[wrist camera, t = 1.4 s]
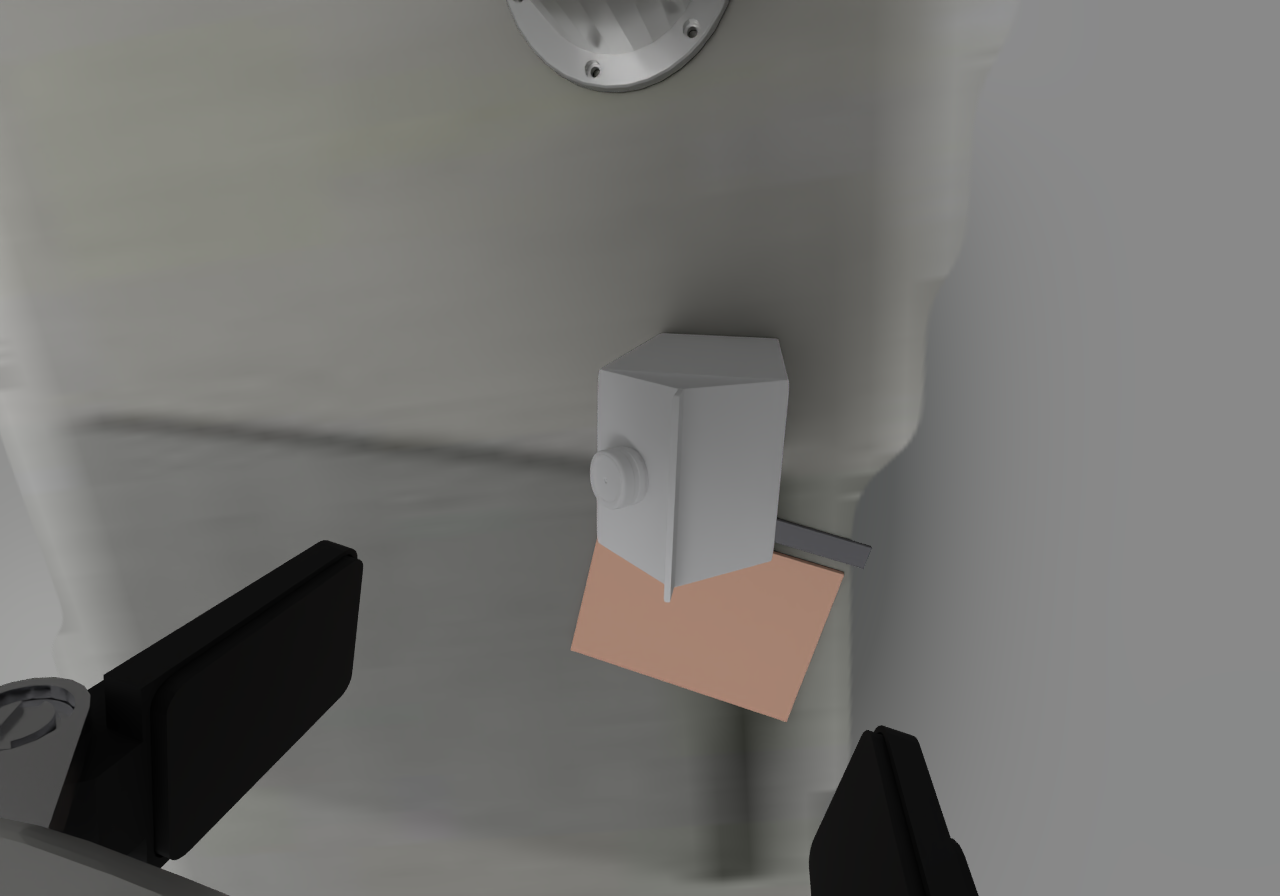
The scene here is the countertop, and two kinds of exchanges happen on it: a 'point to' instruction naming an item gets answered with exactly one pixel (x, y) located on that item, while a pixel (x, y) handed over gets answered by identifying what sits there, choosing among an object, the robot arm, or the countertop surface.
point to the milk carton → (691, 455)
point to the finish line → (821, 543)
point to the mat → (711, 627)
